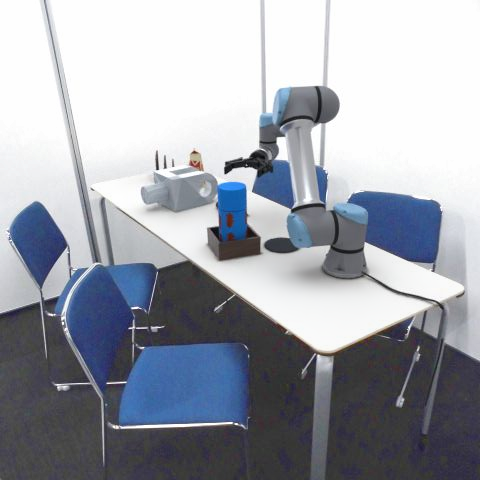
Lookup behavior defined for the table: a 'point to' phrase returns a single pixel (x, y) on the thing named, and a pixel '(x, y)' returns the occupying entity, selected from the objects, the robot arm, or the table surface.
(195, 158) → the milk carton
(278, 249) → the mat
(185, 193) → the grey clevis bracket
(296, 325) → the table surface
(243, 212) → the thermos
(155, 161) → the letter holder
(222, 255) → the box
